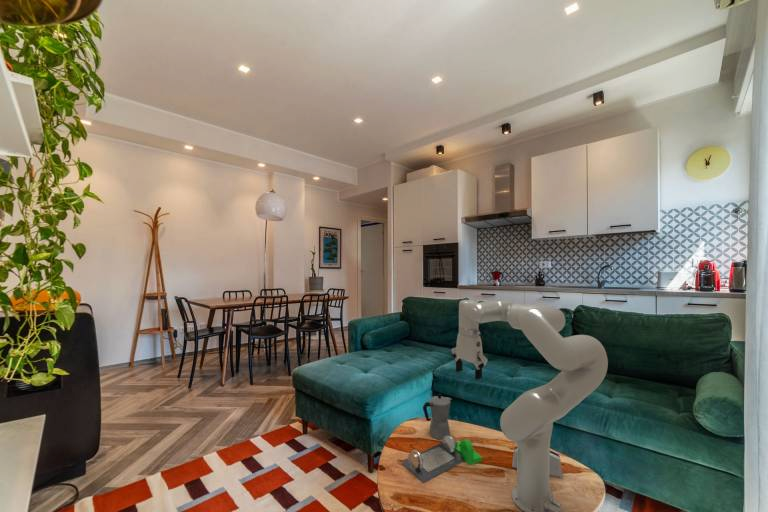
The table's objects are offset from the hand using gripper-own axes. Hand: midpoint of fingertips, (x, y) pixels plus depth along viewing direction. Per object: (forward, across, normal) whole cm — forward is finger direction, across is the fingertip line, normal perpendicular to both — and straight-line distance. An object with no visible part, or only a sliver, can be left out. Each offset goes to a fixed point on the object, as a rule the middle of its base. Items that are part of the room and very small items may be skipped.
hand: (468, 374), depth 128 cm
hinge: (+33, -20, -14) cm, 41 cm away
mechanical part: (+33, +1, 0) cm, 33 cm away
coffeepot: (+32, +18, -1) cm, 37 cm away
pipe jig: (+32, +5, +14) cm, 36 cm away
